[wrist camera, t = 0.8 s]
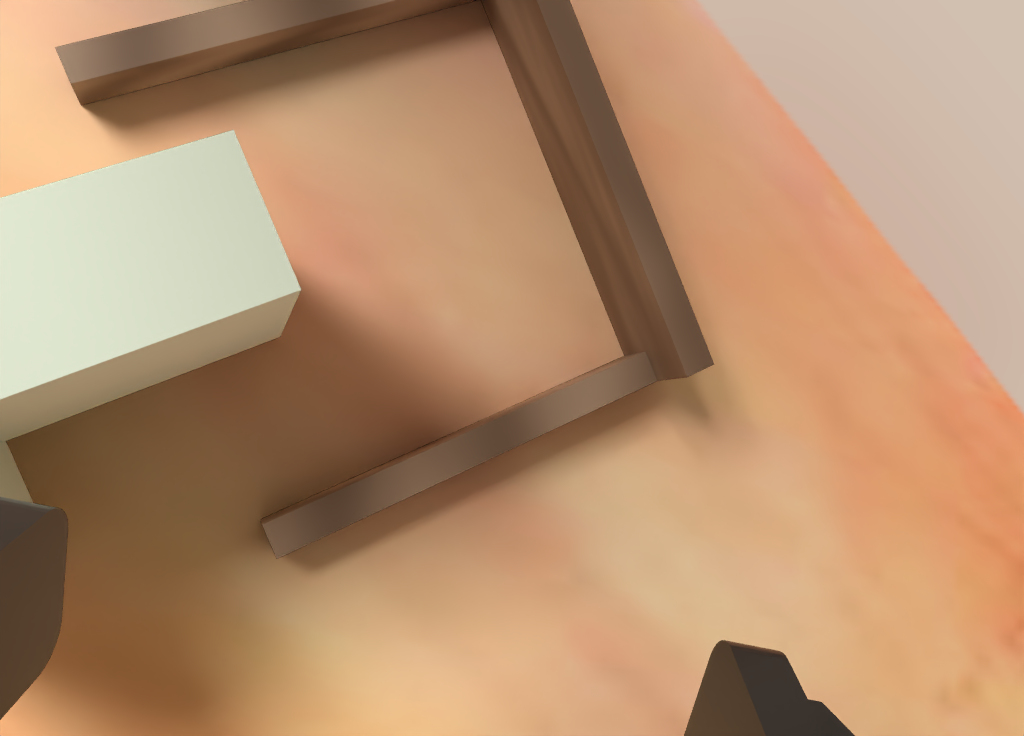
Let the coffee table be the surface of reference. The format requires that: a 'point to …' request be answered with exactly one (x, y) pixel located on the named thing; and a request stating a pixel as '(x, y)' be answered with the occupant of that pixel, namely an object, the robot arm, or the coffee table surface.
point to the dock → (573, 165)
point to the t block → (132, 283)
